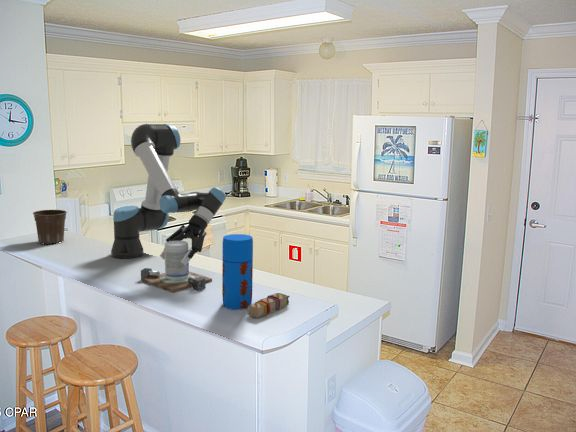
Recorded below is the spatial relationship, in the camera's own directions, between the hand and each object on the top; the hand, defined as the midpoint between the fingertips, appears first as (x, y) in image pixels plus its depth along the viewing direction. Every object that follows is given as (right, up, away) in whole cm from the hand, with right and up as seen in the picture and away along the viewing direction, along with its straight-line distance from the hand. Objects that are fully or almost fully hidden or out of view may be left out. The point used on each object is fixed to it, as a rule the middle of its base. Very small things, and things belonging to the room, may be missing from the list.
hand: (172, 260), depth 210 cm
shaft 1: (-10, -8, +5) cm, 14 cm away
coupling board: (+1, -9, +3) cm, 9 cm away
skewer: (+41, -16, -26) cm, 51 cm away
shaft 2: (+10, -10, -4) cm, 15 cm away
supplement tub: (+1, -7, +3) cm, 8 cm away
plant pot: (-78, +4, +65) cm, 101 cm away
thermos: (+28, -14, -21) cm, 38 cm away
